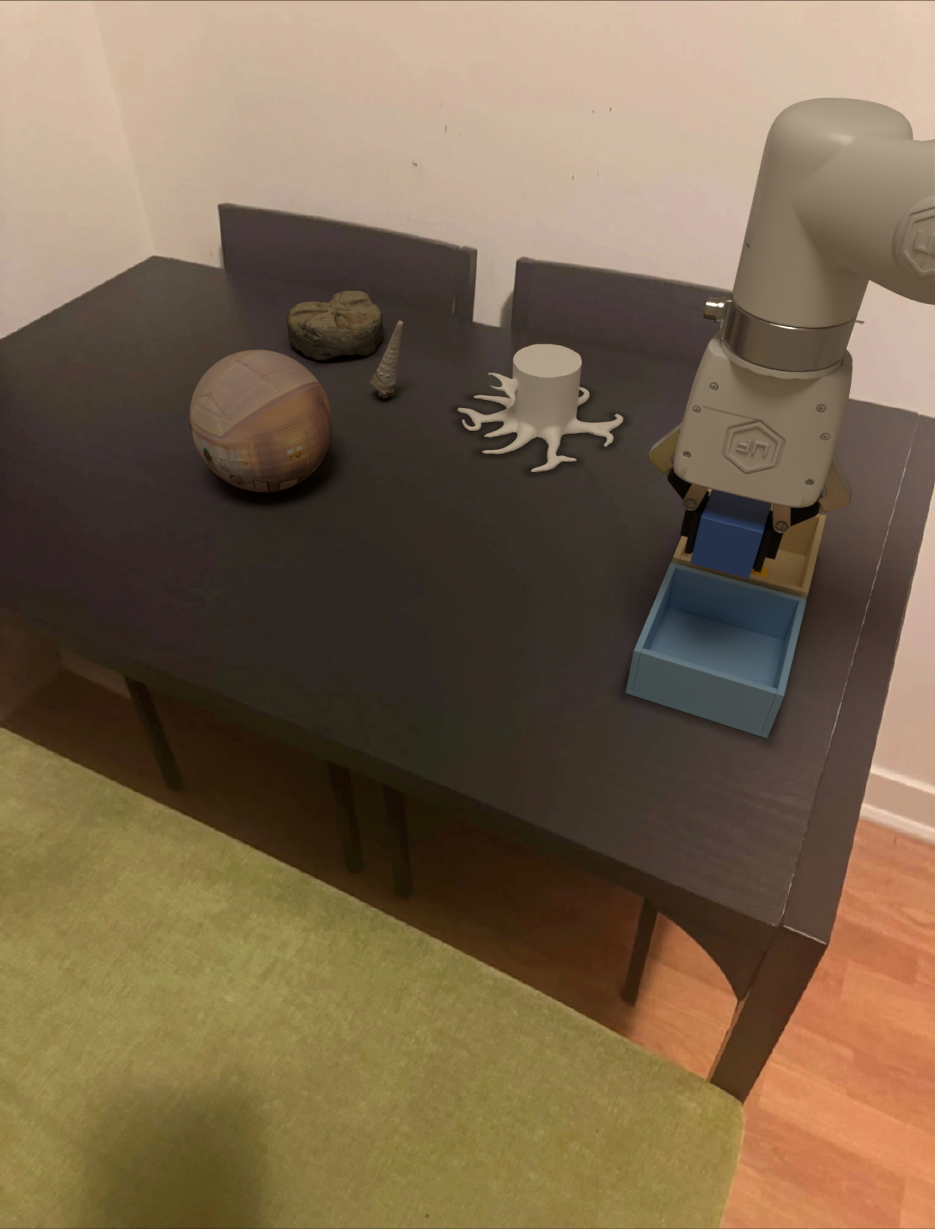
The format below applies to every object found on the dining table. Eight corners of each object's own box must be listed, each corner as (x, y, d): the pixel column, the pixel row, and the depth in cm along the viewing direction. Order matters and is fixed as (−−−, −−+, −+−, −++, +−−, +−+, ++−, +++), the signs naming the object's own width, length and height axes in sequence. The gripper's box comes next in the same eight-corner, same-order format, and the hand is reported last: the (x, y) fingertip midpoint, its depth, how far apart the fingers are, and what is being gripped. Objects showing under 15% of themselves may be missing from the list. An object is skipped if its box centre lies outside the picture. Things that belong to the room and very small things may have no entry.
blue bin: (790, 642, 79) (807, 598, 75) (767, 738, 71) (784, 696, 67) (661, 605, 82) (670, 561, 79) (625, 693, 74) (633, 650, 71)
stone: (278, 333, 123) (272, 298, 119) (364, 314, 127) (361, 279, 123) (307, 375, 115) (301, 338, 111) (398, 353, 119) (396, 316, 115)
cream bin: (810, 558, 87) (826, 515, 84) (792, 636, 79) (808, 593, 76) (693, 527, 91) (702, 485, 87) (663, 599, 83) (672, 556, 79)
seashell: (376, 390, 112) (369, 308, 104) (413, 397, 110) (408, 314, 103) (366, 401, 110) (358, 318, 102) (403, 409, 108) (398, 325, 101)
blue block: (759, 544, 67) (773, 497, 64) (748, 579, 64) (763, 532, 61) (702, 529, 69) (714, 483, 65) (689, 563, 66) (700, 517, 62)
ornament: (332, 436, 104) (317, 318, 93) (345, 510, 93) (330, 386, 83) (206, 450, 102) (176, 331, 91) (205, 528, 91) (171, 403, 81)
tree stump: (445, 394, 111) (444, 335, 105) (583, 371, 115) (589, 313, 109) (495, 480, 97) (497, 418, 91) (650, 451, 101) (660, 390, 96)
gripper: (639, 330, 54) (606, 552, 66) (927, 384, 49) (832, 613, 61) (669, 283, 58) (633, 499, 71) (933, 329, 54) (844, 551, 66)
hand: (726, 550), depth 66 cm, fingers closed on blue block, 4 cm apart
